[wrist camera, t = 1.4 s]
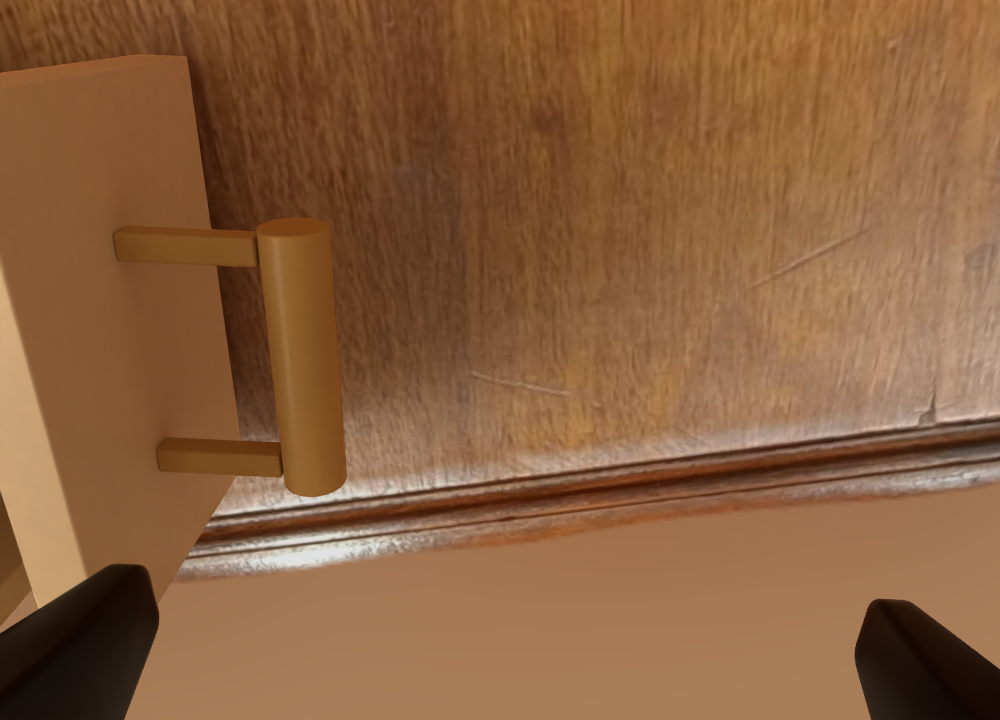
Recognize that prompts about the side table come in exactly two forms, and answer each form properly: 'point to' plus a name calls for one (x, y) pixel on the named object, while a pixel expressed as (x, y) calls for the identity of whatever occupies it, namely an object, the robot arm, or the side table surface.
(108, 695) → the robot arm
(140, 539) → the drawer
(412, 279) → the side table surface
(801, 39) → the side table surface
